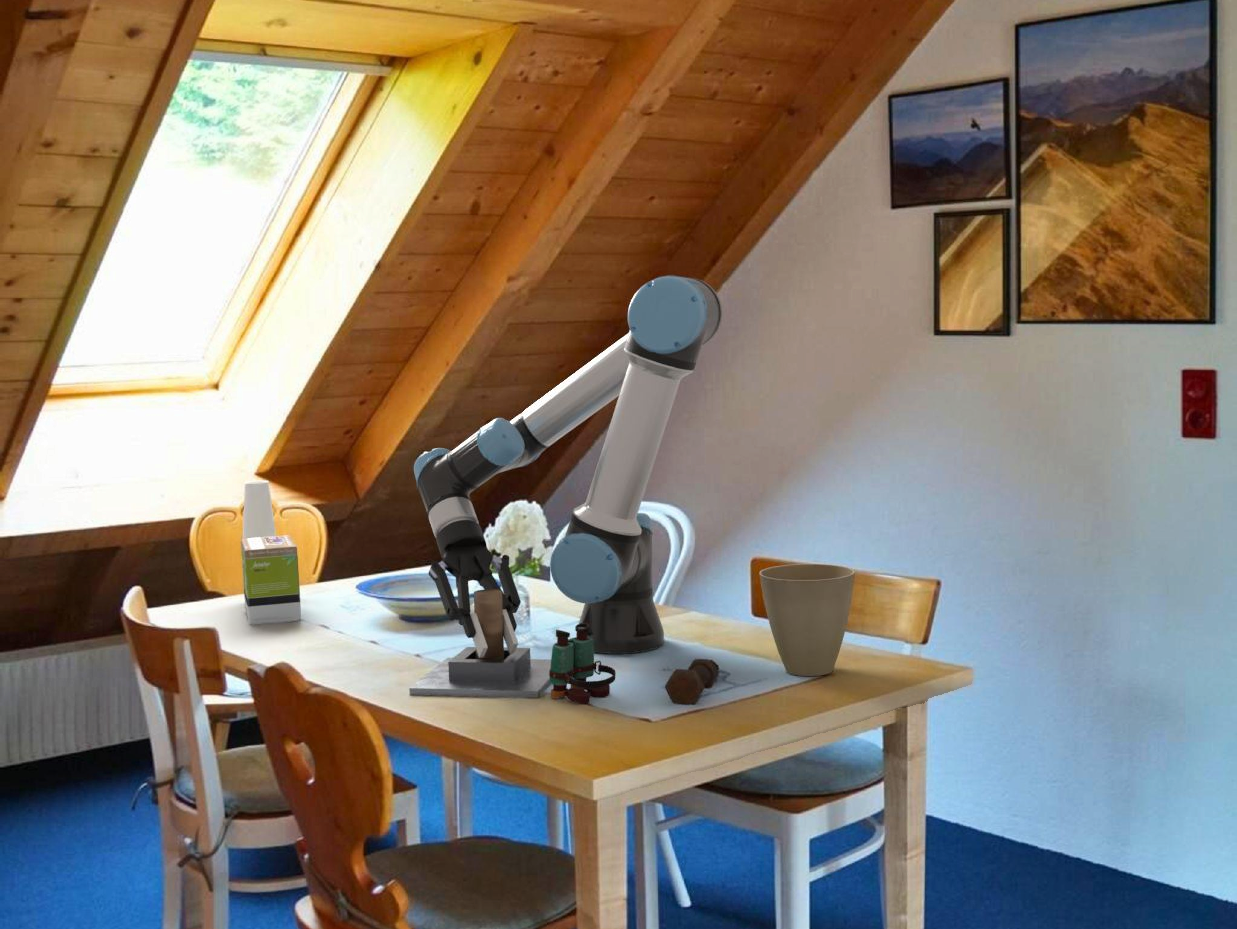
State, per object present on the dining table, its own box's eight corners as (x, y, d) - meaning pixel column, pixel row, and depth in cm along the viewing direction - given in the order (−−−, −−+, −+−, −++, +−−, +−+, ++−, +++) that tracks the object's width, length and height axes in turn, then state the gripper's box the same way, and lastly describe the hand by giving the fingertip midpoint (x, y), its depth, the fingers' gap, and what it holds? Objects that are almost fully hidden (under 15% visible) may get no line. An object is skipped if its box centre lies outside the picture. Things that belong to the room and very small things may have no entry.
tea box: (243, 611, 292) (239, 537, 290) (295, 606, 295) (291, 533, 293) (248, 626, 278) (244, 548, 276) (302, 621, 281) (298, 544, 279)
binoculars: (592, 643, 212) (540, 628, 218) (588, 714, 214) (537, 697, 220) (631, 632, 219) (580, 618, 225) (627, 700, 221) (577, 684, 227)
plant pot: (826, 656, 243) (825, 560, 241) (873, 676, 229) (873, 574, 227) (744, 666, 237) (743, 568, 236) (787, 687, 223) (786, 583, 222)
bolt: (714, 692, 229) (688, 714, 215) (687, 674, 230) (659, 695, 216) (732, 661, 228) (707, 681, 213) (705, 643, 229) (678, 662, 215)
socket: (566, 665, 240) (565, 641, 240) (537, 697, 221) (537, 671, 220) (448, 663, 244) (447, 639, 243) (409, 694, 224) (408, 668, 224)
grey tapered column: (283, 597, 304) (277, 482, 302) (251, 601, 301) (245, 484, 299) (273, 592, 310) (268, 479, 308) (241, 596, 307) (236, 481, 304)
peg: (507, 664, 234) (505, 589, 232) (500, 670, 229) (497, 594, 228) (480, 663, 234) (478, 589, 233) (472, 670, 230) (470, 594, 229)
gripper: (501, 541, 248) (543, 657, 235) (401, 550, 240) (440, 671, 227) (512, 513, 242) (556, 630, 229) (411, 522, 235) (450, 643, 222)
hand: (498, 650), depth 228 cm, fingers closed on peg, 4 cm apart
